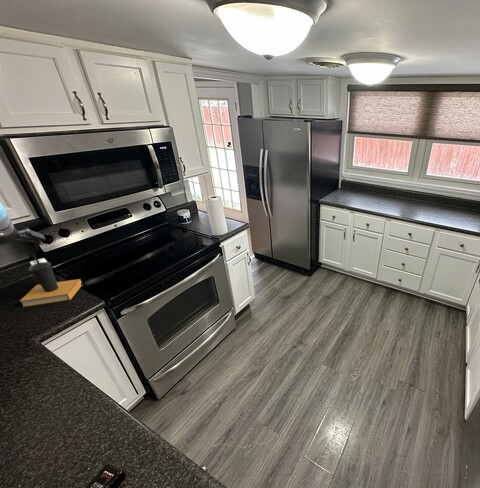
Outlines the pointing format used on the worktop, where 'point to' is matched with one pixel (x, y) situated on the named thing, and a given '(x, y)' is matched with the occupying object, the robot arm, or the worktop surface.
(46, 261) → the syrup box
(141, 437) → the worktop surface
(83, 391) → the worktop surface
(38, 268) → the drinking cup
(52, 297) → the book
